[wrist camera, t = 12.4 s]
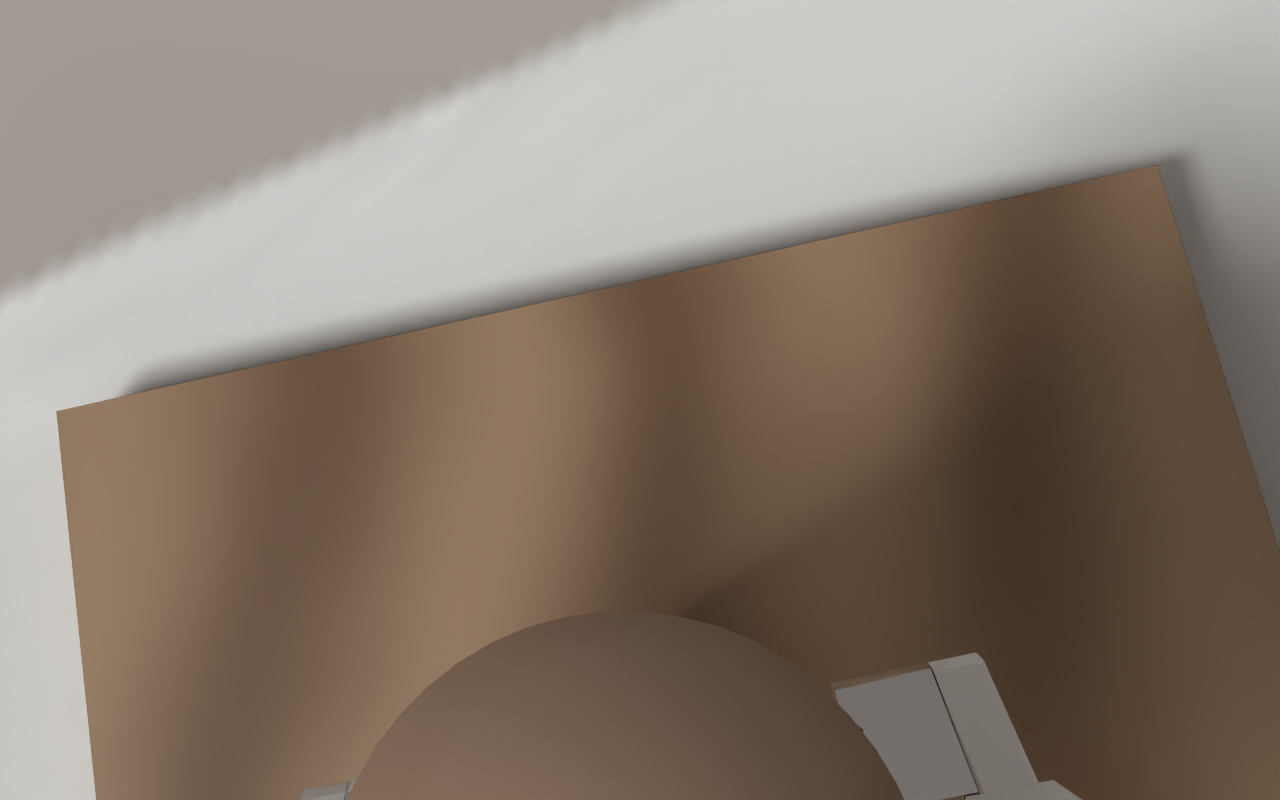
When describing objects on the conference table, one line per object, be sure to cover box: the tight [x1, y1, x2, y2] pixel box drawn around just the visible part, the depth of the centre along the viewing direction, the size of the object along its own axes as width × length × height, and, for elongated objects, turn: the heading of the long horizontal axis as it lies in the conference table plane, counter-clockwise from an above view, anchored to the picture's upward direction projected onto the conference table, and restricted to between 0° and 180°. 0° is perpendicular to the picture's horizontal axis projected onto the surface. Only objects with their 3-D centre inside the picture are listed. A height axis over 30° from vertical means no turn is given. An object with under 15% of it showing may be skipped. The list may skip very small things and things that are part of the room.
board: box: [56, 165, 1280, 800], centre depth 20 cm, size 20×16×1 cm
